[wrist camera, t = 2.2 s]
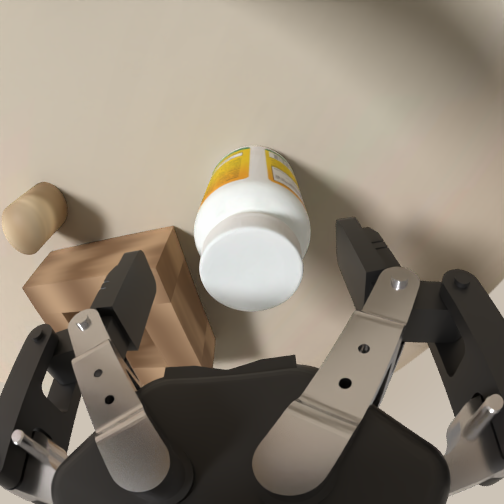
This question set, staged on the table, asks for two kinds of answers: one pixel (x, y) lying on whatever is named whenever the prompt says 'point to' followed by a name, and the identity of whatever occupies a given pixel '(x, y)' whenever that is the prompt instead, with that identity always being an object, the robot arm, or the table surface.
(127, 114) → the table surface
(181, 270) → the square wooden frame
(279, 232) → the supplement bottle
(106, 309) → the robot arm
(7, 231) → the short dowel
